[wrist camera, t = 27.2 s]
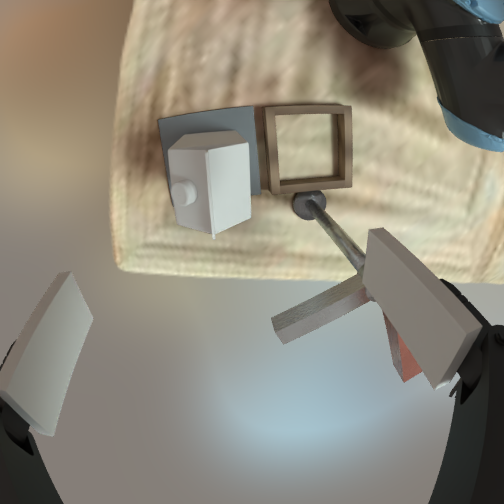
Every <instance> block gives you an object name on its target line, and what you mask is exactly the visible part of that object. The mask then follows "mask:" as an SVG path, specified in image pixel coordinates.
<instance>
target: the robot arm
mask: <svg viewBox="0 0 504 504" xmlns="http://www.w3.org/2000/svg"><path fill="white" fill-rule="evenodd" d="M329 2H330V6H331V9H332V11H333V13H334V15H335V17H336V18H337V20H338V21H339V23H340V24H341V25H342V26H343V27H344V29H345V30H346V31H347V32H349V33H350V34H351V35H352V36H353V37H355V38H356V39H358V40H359V41H361V42H363V43H365V44H367V45H370V46H372V47H376V48H383V49H387V48H393V47H398V46H402V45H404V44H406V43H407V42H409V41H410V40H411V39H412V38H413V37H414V36H415V35H416V34H417V36H418V39H419V41H420V44H421V46H422V49H423V52H424V55H425V57H426V60H427V63H428V66H429V69H430V72H431V75H432V79H433V82H434V85H435V89H436V92H437V100H438V103H439V105H440V106H441V109H442V112H443V116H444V119H445V123H446V125H447V127H448V129H449V130H450V131H451V132H452V133H453V134H454V135H455V136H456V137H457V138H459V139H460V140H462V141H464V142H465V143H468V144H470V145H472V146H475V147H478V148H481V149H485V150H489V151H495V152H503V151H504V39H503V37H502V33H501V30H500V27H499V24H500V23H501V22H502V21H504V0H329ZM492 36H493V37H492ZM495 36H496V37H495ZM461 37H465V38H461ZM448 38H451V39H448ZM438 39H441V40H438ZM431 40H433V41H431ZM424 41H425V42H424ZM362 282H363V284H364V285H365V286H366V288H367V289H368V291H369V292H370V293H371V295H372V296H373V297H374V299H375V300H376V302H377V303H378V304H379V306H380V307H381V309H382V310H383V312H384V313H385V315H386V316H387V317H388V319H389V320H390V322H391V323H392V325H393V326H394V328H395V329H396V331H397V332H398V334H399V335H400V337H401V338H402V340H403V341H404V343H405V344H406V346H407V347H408V349H409V350H410V352H411V353H412V355H413V357H414V358H415V360H416V361H417V363H418V364H419V366H420V368H421V369H422V371H423V373H424V374H425V376H426V377H427V379H428V381H429V382H430V384H431V385H432V387H433V389H434V390H436V389H438V388H440V387H442V386H444V385H446V384H448V383H450V382H451V380H452V378H453V377H454V375H455V374H456V372H458V374H459V375H460V377H461V378H460V379H459V381H458V382H457V384H456V385H455V387H454V388H453V389H452V391H451V392H450V395H449V397H452V396H453V394H454V393H455V391H456V390H457V392H456V396H455V398H456V399H455V406H454V412H453V418H452V423H451V428H450V433H449V437H448V442H447V446H446V450H445V454H444V457H443V461H442V465H441V468H440V471H439V475H438V478H437V481H436V484H435V487H434V490H433V493H432V495H431V498H430V501H429V503H428V504H504V326H503V325H494V326H491V325H490V323H489V322H488V321H487V320H486V319H485V318H484V317H483V316H482V315H481V313H480V312H479V311H478V310H477V309H476V308H475V307H474V306H473V305H472V304H471V303H470V302H468V300H467V298H466V297H465V296H464V295H461V292H460V291H459V290H458V289H457V288H456V287H455V286H454V285H453V284H451V283H449V282H447V281H446V280H444V279H438V278H437V277H436V276H435V275H434V274H433V273H432V272H431V271H430V270H429V269H428V268H427V267H426V266H425V265H424V264H423V263H422V262H421V261H420V260H419V259H418V258H417V257H415V256H414V255H413V254H412V253H411V252H410V251H409V250H408V249H407V248H406V247H405V246H404V245H402V244H401V243H400V242H399V241H398V240H397V239H396V238H395V237H393V236H392V235H391V234H390V233H389V232H388V231H387V230H385V229H384V228H376V229H369V231H368V241H367V249H366V258H365V265H364V272H363V279H362ZM92 321H93V316H92V314H91V312H90V310H89V309H88V306H87V304H86V302H85V300H84V298H83V296H82V294H81V291H80V289H79V287H78V285H77V283H76V280H75V278H74V276H73V273H72V272H71V271H69V272H62V273H59V274H58V275H57V277H56V278H55V280H54V281H53V282H52V284H51V285H50V287H49V288H48V290H47V291H46V292H45V294H44V295H43V297H42V299H41V300H40V302H39V303H38V305H37V306H36V308H35V309H34V311H33V313H32V314H31V316H30V318H29V319H28V321H27V323H26V324H25V326H24V328H23V329H22V331H21V333H20V335H19V336H18V339H17V340H16V341H15V342H14V343H13V344H12V345H11V347H10V349H9V351H8V353H7V356H6V357H5V358H4V360H3V364H1V366H0V504H63V502H62V500H61V498H60V496H59V494H58V493H57V490H56V489H55V487H54V484H53V483H52V480H51V478H50V476H49V474H48V472H47V470H46V467H45V465H44V463H43V460H42V458H41V455H40V453H39V450H38V448H37V445H36V443H35V440H34V437H33V435H32V434H31V433H30V432H29V431H28V430H29V426H31V427H33V428H34V429H35V430H36V431H37V432H38V433H40V434H44V435H48V436H53V437H54V433H55V429H56V426H57V422H58V418H59V415H60V411H61V408H62V404H63V401H64V397H65V394H66V391H67V388H68V385H69V382H70V379H71V376H72V373H73V370H74V367H75V365H76V362H77V359H78V356H79V354H80V351H81V348H82V345H83V343H84V341H85V338H86V335H87V333H88V331H89V328H90V326H91V323H92Z"/></svg>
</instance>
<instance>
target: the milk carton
mask: <svg viewBox="0 0 504 504" xmlns="http://www.w3.org/2000/svg"><path fill="white" fill-rule="evenodd" d="M168 161H169V170H170V179H171V196H172V199H173V203H174V210H175V216H176V222H177V224H178V225H181V226H184V227H188V228H191V229H195V230H199V231H202V232H206V233H210V234H212V238H213V240H215V234H217V233H219V232H221V231H223V230H225V229H228V228H230V227H232V226H234V225H236V224H239V223H241V222H243V221H245V220H247V219H250V218H251V191H250V161H249V143H248V142H247V141H246V140H245V139H244V138H243V137H242V136H241V135H240V134H239V133H238V132H237V131H236V130H232V131H217V132H205V133H194V134H185V135H183V136H182V137H181V138H180V139H179V140H178V141H177V142H176V143H175V144H174V145H172V146H171V147H170V148H169V149H168Z"/></svg>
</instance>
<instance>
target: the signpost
mask: <svg viewBox="0 0 504 504" xmlns="http://www.w3.org/2000/svg"><path fill="white" fill-rule="evenodd" d="M305 207H306V209H307V210H308V211H309V212H310V213H311V215H312V216H313V217H314V218H315V219H316V221H317V222H318V223H319V224H320V225H321V227H322V228H323V229H324V230H325V231H326V233H327V234H328V235H329V236H330V237H331V239H332V240H333V241H334V242H335V244H336V245H337V246H338V247H339V249H340V250H341V251H342V252H343V254H344V255H345V256H346V257H347V259H348V260H349V261H350V263H351V264H352V265H353V266H354V268H355V269H356V270H357V274H356V275H354V276H353V277H351V278H349V279H347V280H345V281H343V282H341V283H340V284H338V285H336V286H334V287H332V288H330V289H328V290H326V291H324V292H323V293H321V294H319V295H317V296H315V297H313V298H311V299H309V300H307V301H305V302H303V303H301V304H299V305H297V306H295V307H293V308H291V309H289V310H287V311H284V312H282V313H280V314H278V315H276V316H274V317H272V318H271V320H272V323H273V327H274V331H275V333H276V334H277V336H278V337H279V339H280V340H281V342H282V343H283V344H286V343H288V342H290V341H292V340H294V339H296V338H299V337H301V336H303V335H305V334H307V333H309V332H311V331H313V330H315V329H317V328H319V327H321V326H323V325H325V324H327V323H329V322H331V321H333V320H335V319H337V318H339V317H341V316H342V315H345V314H347V313H349V312H350V311H352V310H354V309H356V308H358V307H360V306H361V305H363V304H365V303H367V302H369V301H370V300H371V301H374V302H376V300H375V299H374V297H373V296H372V295H371V293H370V292H369V291H368V289H367V288H366V286H365V285H364V284H363V282H362V279H363V272H364V265H365V258H366V254H365V253H364V252H363V251H362V250H361V249H360V248H359V246H358V245H357V244H356V243H355V242H354V241H353V240H352V239H351V238H350V237H349V236H348V234H347V233H346V232H345V231H344V230H343V229H342V228H341V227H340V226H339V225H338V224H337V223H336V222H335V221H334V220H333V219H332V218H331V217H330V216H329V215H328V214H327V213H326V211H325V210H324V209H323V208H322V207H321V206H320V205H319V204H318V203H317V202H316V201H315V200H313V199H310V200H308V201H307V202H306V204H305ZM382 311H383V310H382ZM383 315H384V320H385V324H386V329H387V334H388V339H389V344H390V349H391V354H392V360H393V365H394V366H395V368H396V370H397V372H398V373H399V375H400V377H401V379H402V380H403V382H406V381H407V380H409V379H411V378H412V377H414V376H415V375H417V374H419V373H421V372H422V369H421V368H420V366H419V364H418V363H417V361H416V360H415V358H414V357H413V355H412V353H411V352H410V350H409V349H408V347H407V346H406V344H405V343H404V341H403V340H402V338H401V337H400V335H399V334H398V332H397V331H396V329H395V328H394V326H393V325H392V323H391V322H390V320H389V319H388V317H387V316H386V315H385V313H384V312H383Z"/></svg>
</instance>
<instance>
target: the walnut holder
mask: <svg viewBox="0 0 504 504" xmlns="http://www.w3.org/2000/svg"><path fill="white" fill-rule="evenodd" d="M262 113H263V124H264V135H265V147H266V159H267V172H268V185H269V191H270V193H271V194H272V195H277V194H286V193H295V192H305V191H315V190H326V189H338V188H350V187H352V167H353V142H352V107H351V106H344V105H296V106H274V107H262ZM290 114H337V119H338V156H339V176H332V177H319V178H307V179H296V180H286V181H280V178H279V163H278V149H277V135H276V123H275V115H290Z"/></svg>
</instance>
